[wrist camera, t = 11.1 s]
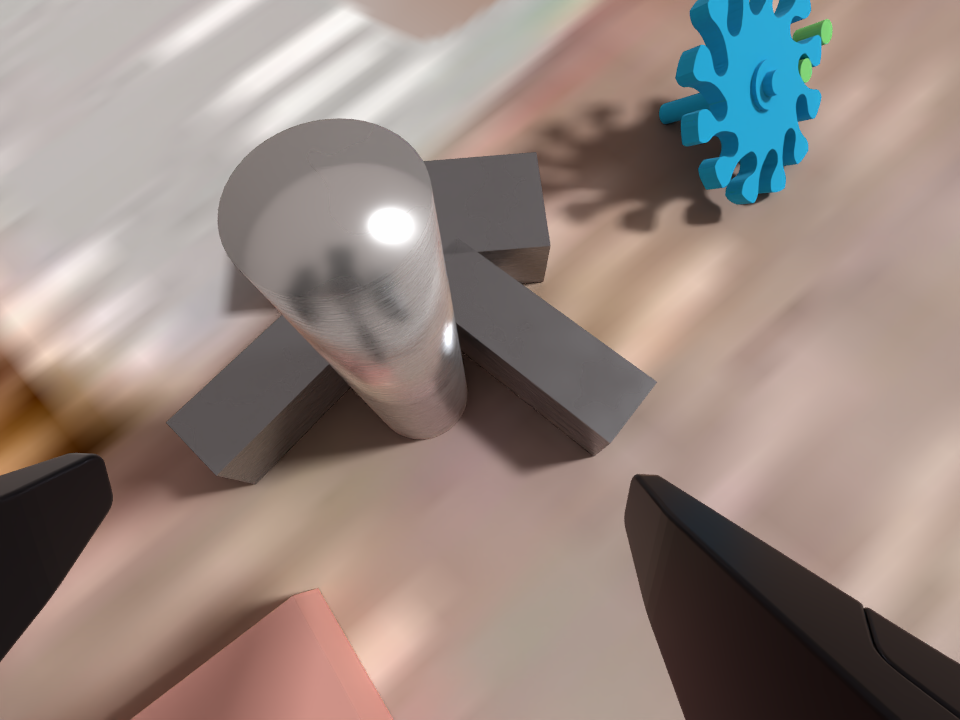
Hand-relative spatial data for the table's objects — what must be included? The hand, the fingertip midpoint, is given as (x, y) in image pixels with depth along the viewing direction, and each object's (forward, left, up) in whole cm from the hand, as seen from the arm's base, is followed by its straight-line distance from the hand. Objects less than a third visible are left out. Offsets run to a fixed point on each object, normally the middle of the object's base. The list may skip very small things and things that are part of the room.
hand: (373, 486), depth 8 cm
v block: (+9, -1, -12) cm, 15 cm away
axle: (+5, 0, -12) cm, 13 cm away
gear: (+14, -19, -12) cm, 27 cm away
